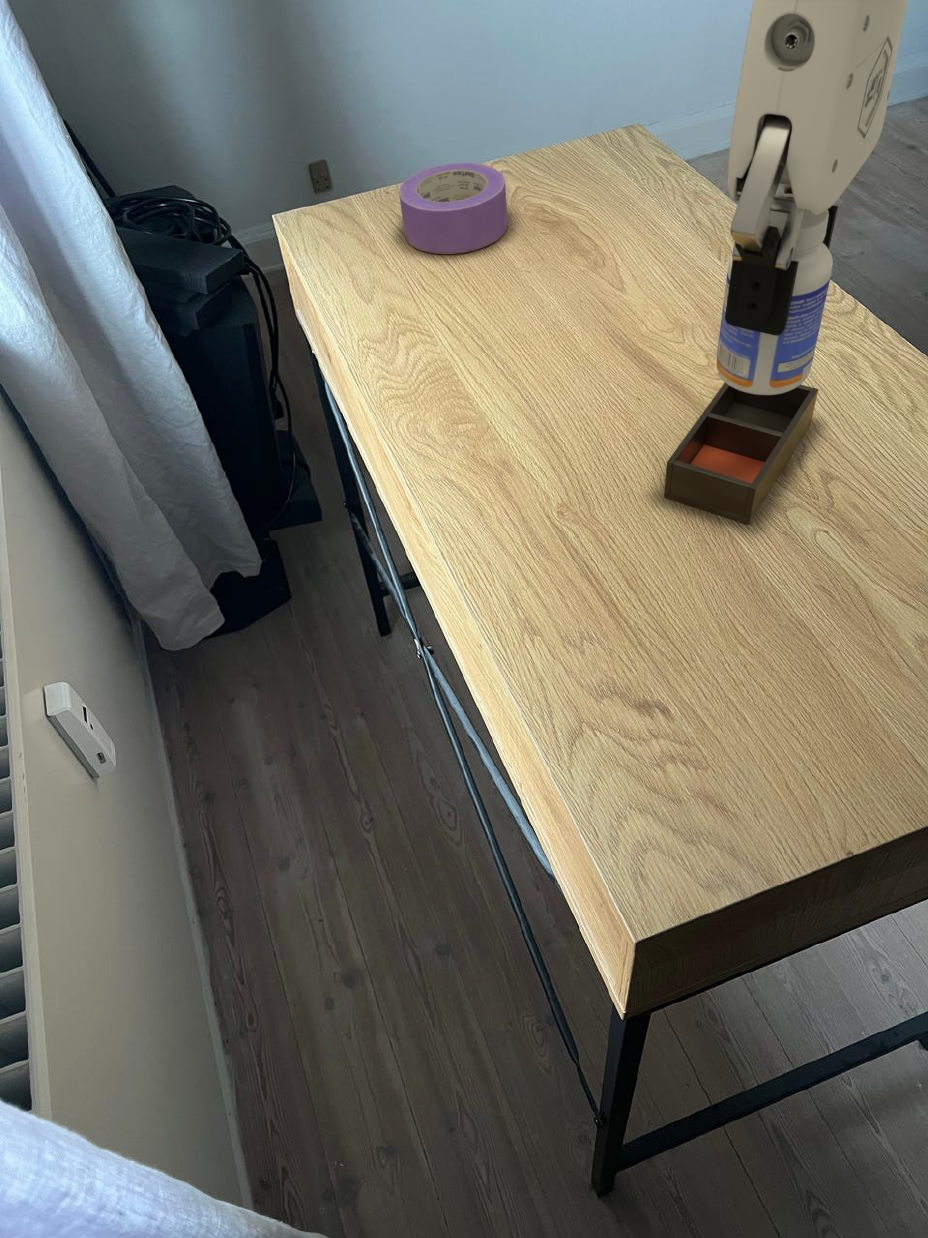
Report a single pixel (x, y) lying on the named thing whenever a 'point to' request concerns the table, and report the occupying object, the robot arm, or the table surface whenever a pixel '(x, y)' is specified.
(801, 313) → the pill bottle
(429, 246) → the tape roll
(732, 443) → the brown wooden tray
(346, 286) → the table surface
